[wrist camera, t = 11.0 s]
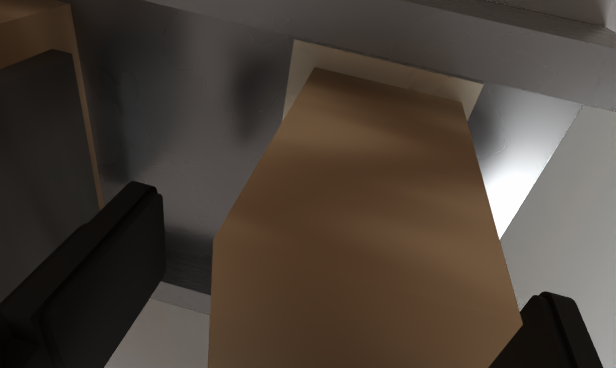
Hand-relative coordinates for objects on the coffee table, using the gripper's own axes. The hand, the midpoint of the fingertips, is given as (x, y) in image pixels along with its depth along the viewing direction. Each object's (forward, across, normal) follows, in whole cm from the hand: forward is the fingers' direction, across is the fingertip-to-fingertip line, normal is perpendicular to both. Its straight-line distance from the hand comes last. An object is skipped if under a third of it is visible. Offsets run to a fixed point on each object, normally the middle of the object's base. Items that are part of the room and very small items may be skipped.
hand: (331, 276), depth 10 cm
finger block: (+3, 0, 0) cm, 3 cm away
